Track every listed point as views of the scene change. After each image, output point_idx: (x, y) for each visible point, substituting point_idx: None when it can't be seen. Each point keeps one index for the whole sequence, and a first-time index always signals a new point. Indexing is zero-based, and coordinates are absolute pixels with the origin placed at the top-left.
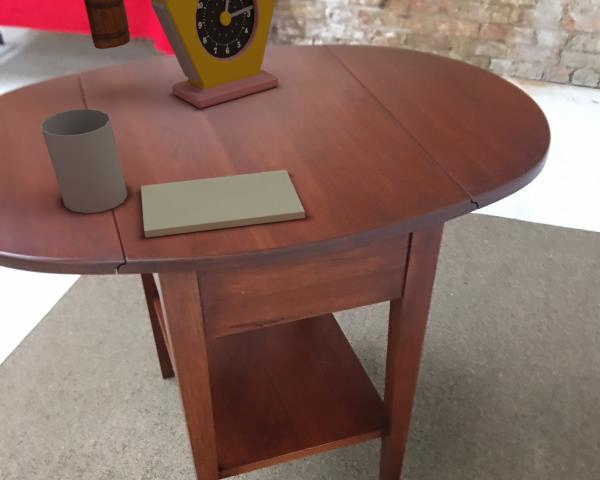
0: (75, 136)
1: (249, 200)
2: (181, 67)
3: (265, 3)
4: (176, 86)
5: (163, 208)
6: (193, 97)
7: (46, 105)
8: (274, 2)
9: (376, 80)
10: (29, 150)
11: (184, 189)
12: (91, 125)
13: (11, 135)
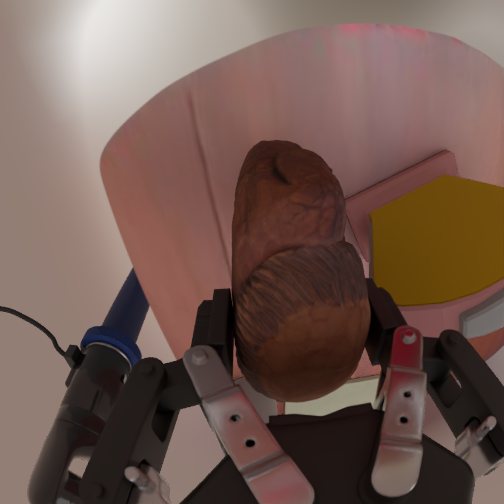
0: None
1: (349, 402)
2: (369, 234)
3: None
4: (350, 215)
5: (298, 408)
6: (364, 253)
7: (160, 207)
8: None
9: None
10: (178, 321)
11: None
12: (259, 413)
13: (146, 287)
